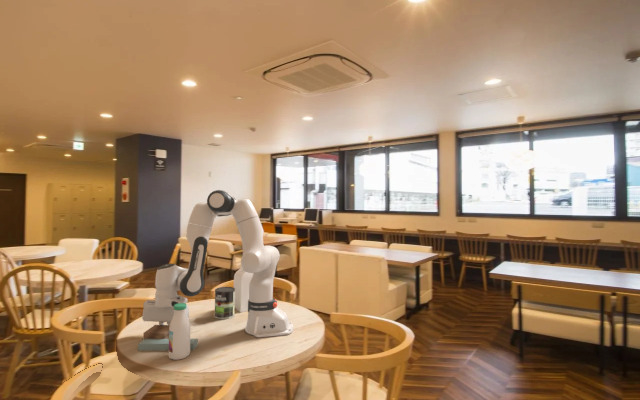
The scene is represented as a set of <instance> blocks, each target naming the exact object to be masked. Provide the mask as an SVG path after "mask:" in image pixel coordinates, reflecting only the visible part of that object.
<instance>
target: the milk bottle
mask: <svg viewBox="0 0 640 400" xmlns="http://www.w3.org/2000/svg"><path fill="white" fill-rule="evenodd" d="M186 304H187V303H186ZM186 304H185V303H178V304H175V305H174V316H173V318H172V321H171V323H170V327H169V350H168V358H169V359H170V360H172V361H173V360H174V361H175V360H176V361H177V360H179V361H180V360H183V359H185V358H188V357H189V356H190V354H191V350H190V339H191V321H190V319H188V317H187V314H186V308H187V305H188V304H187V305H186Z"/></svg>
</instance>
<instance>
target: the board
mask: <svg viewBox="0 0 640 400" xmlns="http://www.w3.org/2000/svg"><path fill="white" fill-rule="evenodd" d="M198 340H199V339H198V338H190V351H194V350H195V349H196V348H197V347H198V344H199V342H198ZM137 348H138V349H137V351H169V339H144V340H143V339H142V340H141V341H140V342H139V343H138V345H137Z"/></svg>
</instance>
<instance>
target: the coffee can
mask: <svg viewBox="0 0 640 400" xmlns="http://www.w3.org/2000/svg"><path fill="white" fill-rule="evenodd" d="M233 287H234V286H233ZM233 287H232V286H220V287H217V288H215V289H214V318H216V319H217V320H227V319H230V318H231V319H232V318H233V317H235V288H233Z"/></svg>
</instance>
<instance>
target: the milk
mask: <svg viewBox="0 0 640 400" xmlns="http://www.w3.org/2000/svg"><path fill="white" fill-rule="evenodd" d="M252 277H253V273H248V272H246V271H244V270H243V268H242V266H241V267H239V269H238V270H237V271H236V272H235V273H234V275H233V288H235V308H234V310H237V312H239V313H244V312H248V300H249V284H250V281H251V279H252Z"/></svg>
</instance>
